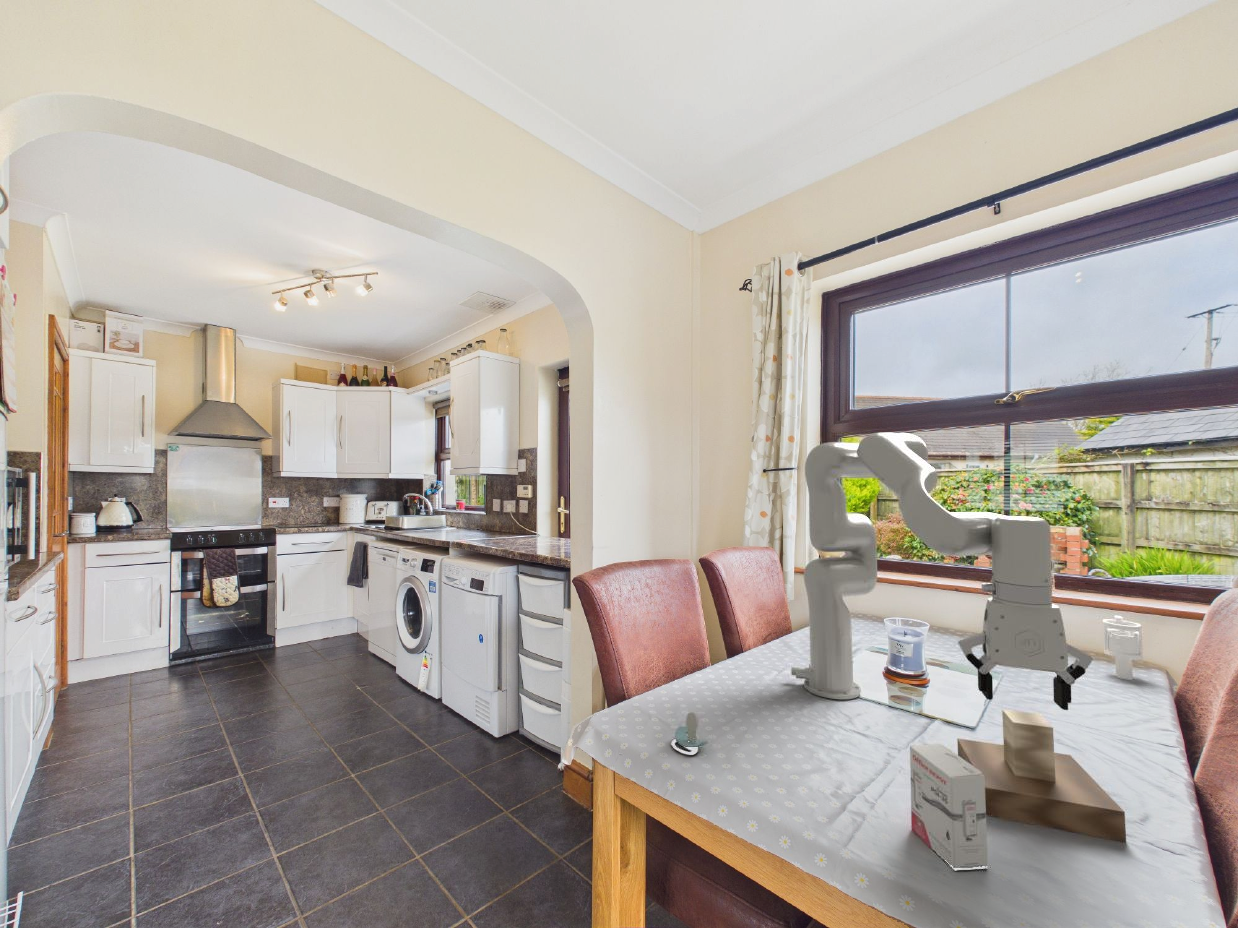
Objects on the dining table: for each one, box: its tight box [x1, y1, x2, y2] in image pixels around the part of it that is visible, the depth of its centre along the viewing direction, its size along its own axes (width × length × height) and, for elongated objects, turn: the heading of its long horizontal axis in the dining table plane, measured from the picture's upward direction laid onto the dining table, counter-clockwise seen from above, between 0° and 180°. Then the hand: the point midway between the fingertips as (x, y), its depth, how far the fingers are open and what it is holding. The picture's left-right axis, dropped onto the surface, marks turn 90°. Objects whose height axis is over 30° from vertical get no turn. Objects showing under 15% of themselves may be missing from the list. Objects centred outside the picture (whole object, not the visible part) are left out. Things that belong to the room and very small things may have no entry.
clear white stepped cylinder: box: [1102, 615, 1144, 681], centre depth 130 cm, size 7×7×15 cm
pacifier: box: [674, 711, 709, 748], centre depth 95 cm, size 7×6×6 cm
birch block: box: [1001, 708, 1056, 782], centre depth 80 cm, size 5×5×8 cm
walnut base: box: [956, 737, 1127, 843], centre depth 80 cm, size 16×16×4 cm
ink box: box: [909, 743, 989, 868], centre depth 68 cm, size 9×5×12 cm, turn 5°
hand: (1023, 701), depth 81 cm, fingers open, 9 cm apart
